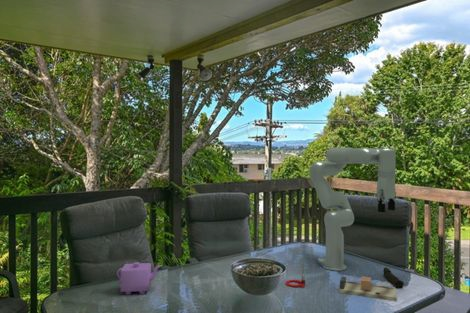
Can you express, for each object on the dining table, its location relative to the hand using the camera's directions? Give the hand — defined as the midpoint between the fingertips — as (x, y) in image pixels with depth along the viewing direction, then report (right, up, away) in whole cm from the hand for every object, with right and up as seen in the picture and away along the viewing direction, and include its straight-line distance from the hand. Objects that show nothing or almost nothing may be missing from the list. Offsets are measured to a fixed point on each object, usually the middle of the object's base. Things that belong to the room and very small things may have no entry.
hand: (386, 211), depth 168 cm
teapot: (-115, -35, -7) cm, 120 cm away
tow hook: (-43, -36, +2) cm, 56 cm away
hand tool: (+5, -36, +7) cm, 37 cm away
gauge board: (-12, -36, -6) cm, 38 cm away
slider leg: (-12, -34, -6) cm, 36 cm away
